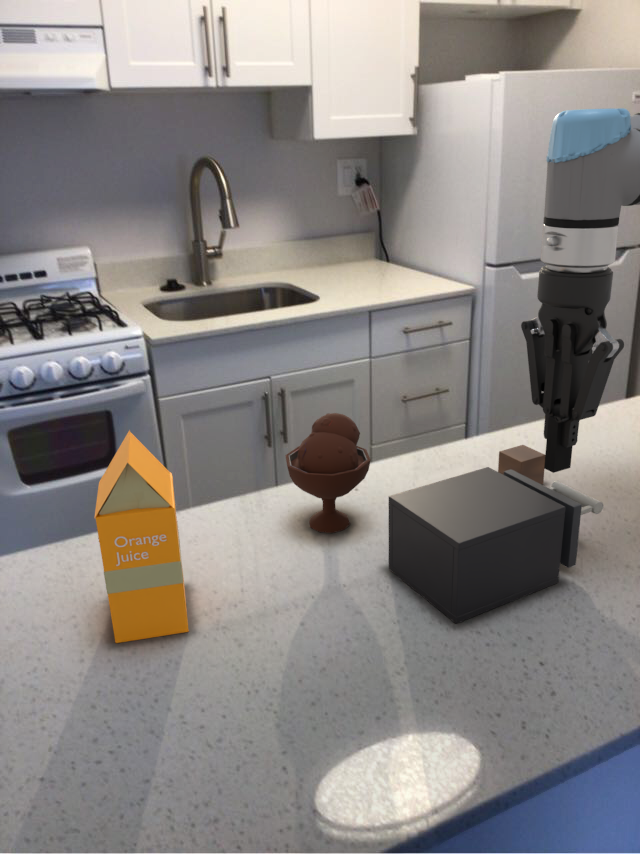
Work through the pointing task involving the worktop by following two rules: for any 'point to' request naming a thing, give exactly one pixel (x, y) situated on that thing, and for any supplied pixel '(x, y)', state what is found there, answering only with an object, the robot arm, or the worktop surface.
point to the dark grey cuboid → (475, 541)
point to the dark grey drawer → (573, 511)
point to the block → (523, 462)
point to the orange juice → (140, 545)
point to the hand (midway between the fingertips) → (557, 467)
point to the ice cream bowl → (329, 467)
